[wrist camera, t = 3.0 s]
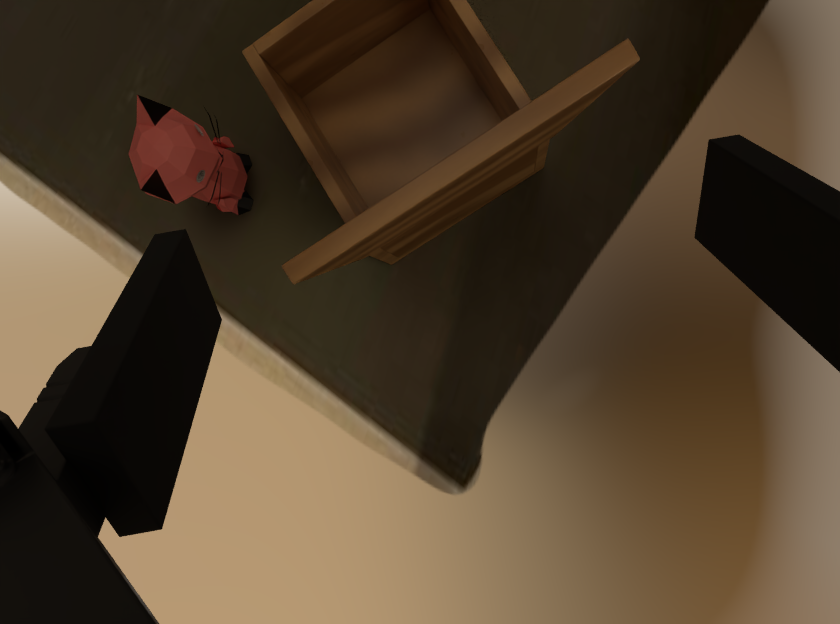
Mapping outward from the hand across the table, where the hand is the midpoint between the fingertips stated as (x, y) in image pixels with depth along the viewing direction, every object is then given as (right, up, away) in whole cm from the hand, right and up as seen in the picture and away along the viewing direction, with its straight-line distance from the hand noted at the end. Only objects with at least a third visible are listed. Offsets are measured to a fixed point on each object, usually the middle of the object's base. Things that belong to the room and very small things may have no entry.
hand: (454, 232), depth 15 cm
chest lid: (+1, +4, +13) cm, 14 cm away
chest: (-1, +12, +31) cm, 34 cm away
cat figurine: (-16, +8, +34) cm, 38 cm away
